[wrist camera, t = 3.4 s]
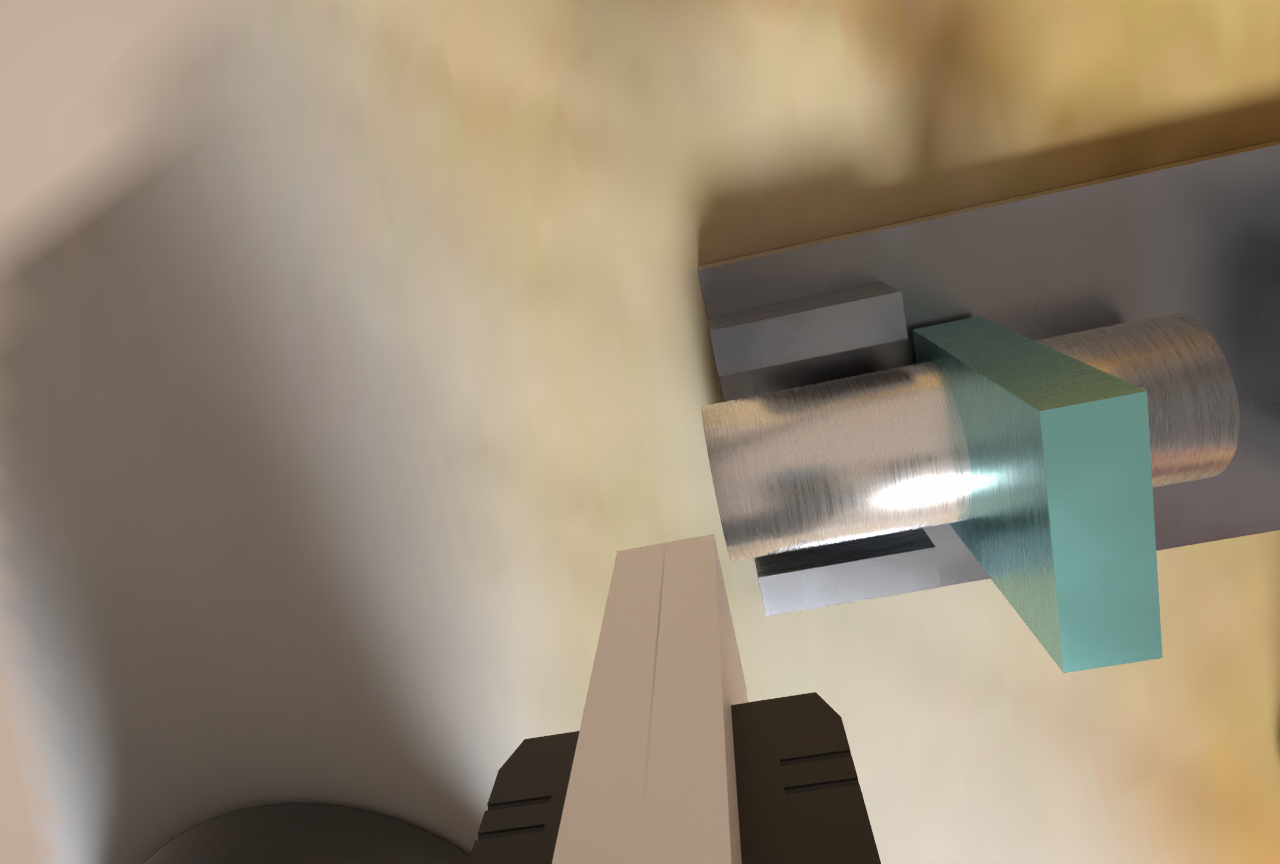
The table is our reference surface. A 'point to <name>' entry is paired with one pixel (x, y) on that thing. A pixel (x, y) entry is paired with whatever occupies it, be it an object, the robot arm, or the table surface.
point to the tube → (996, 465)
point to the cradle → (1021, 331)
